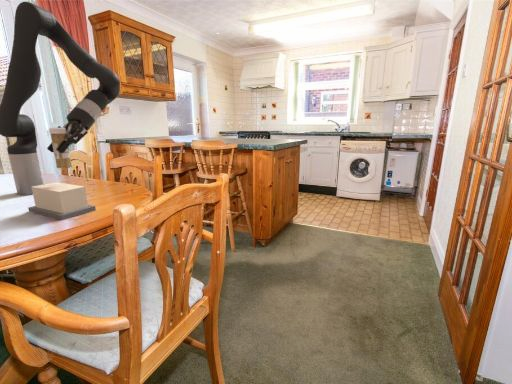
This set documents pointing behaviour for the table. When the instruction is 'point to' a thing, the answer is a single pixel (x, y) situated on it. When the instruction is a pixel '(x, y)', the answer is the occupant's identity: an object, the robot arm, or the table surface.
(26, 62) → the robot arm
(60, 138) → the sprinkles bottle
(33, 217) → the table surface
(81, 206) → the cream and grey block
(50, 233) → the table surface
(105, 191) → the table surface
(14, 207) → the table surface
